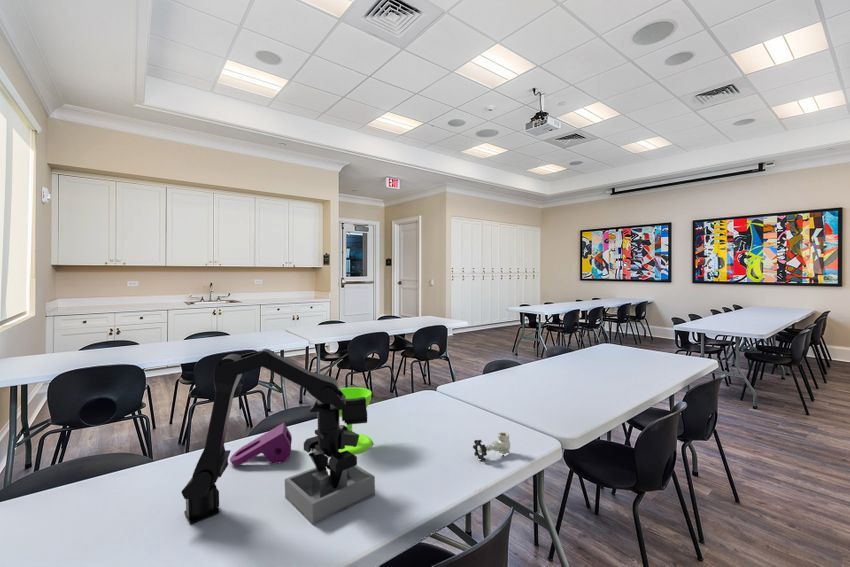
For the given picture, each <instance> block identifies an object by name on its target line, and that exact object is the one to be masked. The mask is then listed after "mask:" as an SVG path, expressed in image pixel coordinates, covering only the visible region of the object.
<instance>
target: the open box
mask: <svg viewBox="0 0 850 567" xmlns="http://www.w3.org/2000/svg"><path fill="white" fill-rule="evenodd" d="M328 465H329V461H328ZM316 472H318V470H317V468H316V467H312V468H311V469H308V470H305V471H302V472H299V473H297V474H294V475H292V476H288V477H287V478H285V479H284V498H285V499H286V500H287V501H288V502H289V503H290V504H291V505H292V506H293V507H294V508H295V509H296V510H297V511H298V512H299V513H300V514H301V515H302V516H304V518H305V519H306V520H307V521H308V522H309V523H310V524H311V525H317V524H318V523H320V522H323V521H324V520H326V519H328V518H330V517H332V516H334V515H336V514H339V513H340V512H342V511H345V510H346V509H349V508H351V507H353V506H354V505H357V504H359V503H361V502H363V501H365V500H368V499H369V498H371V497H373V496H375V495H376V490H375V489H376V481H375V480H376V478H375V477H376V476H375V475H373V474H372V473H370V472H368V471H367V470H365V469H363V468H362V467H361V466H359V465H358V464H357V465H356V466H353V467H351V468H349V469H347V486H346V487H344V488H342V489H340V490H337V491H335V492H333V493H331V494H328V495H326V496H324V497H321V498H319V499H317V500H316V499H314V498H313V497H312V474H313V473H316Z"/></svg>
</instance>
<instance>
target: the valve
mask: <svg viewBox="0 0 850 567" xmlns="http://www.w3.org/2000/svg"><path fill="white" fill-rule="evenodd" d="M497 435H498V437H497V438H498V439H497V440H495V441H492V443H491V444H488V445H485V444H482V443H483V442H482V439H474V441H473V443H474V445H472V448H473V450H474V456H475V457H477V459H478V458H479V459H481V462H485V461H486V457H485V456H487V455H488V454H487V452H490V451H494V452H498V451H499V452H498V454H499V453H502V454H506V453H509V454H510V449H511V442H510V433H508V432H502V431H501V432H498V433H497Z"/></svg>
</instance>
